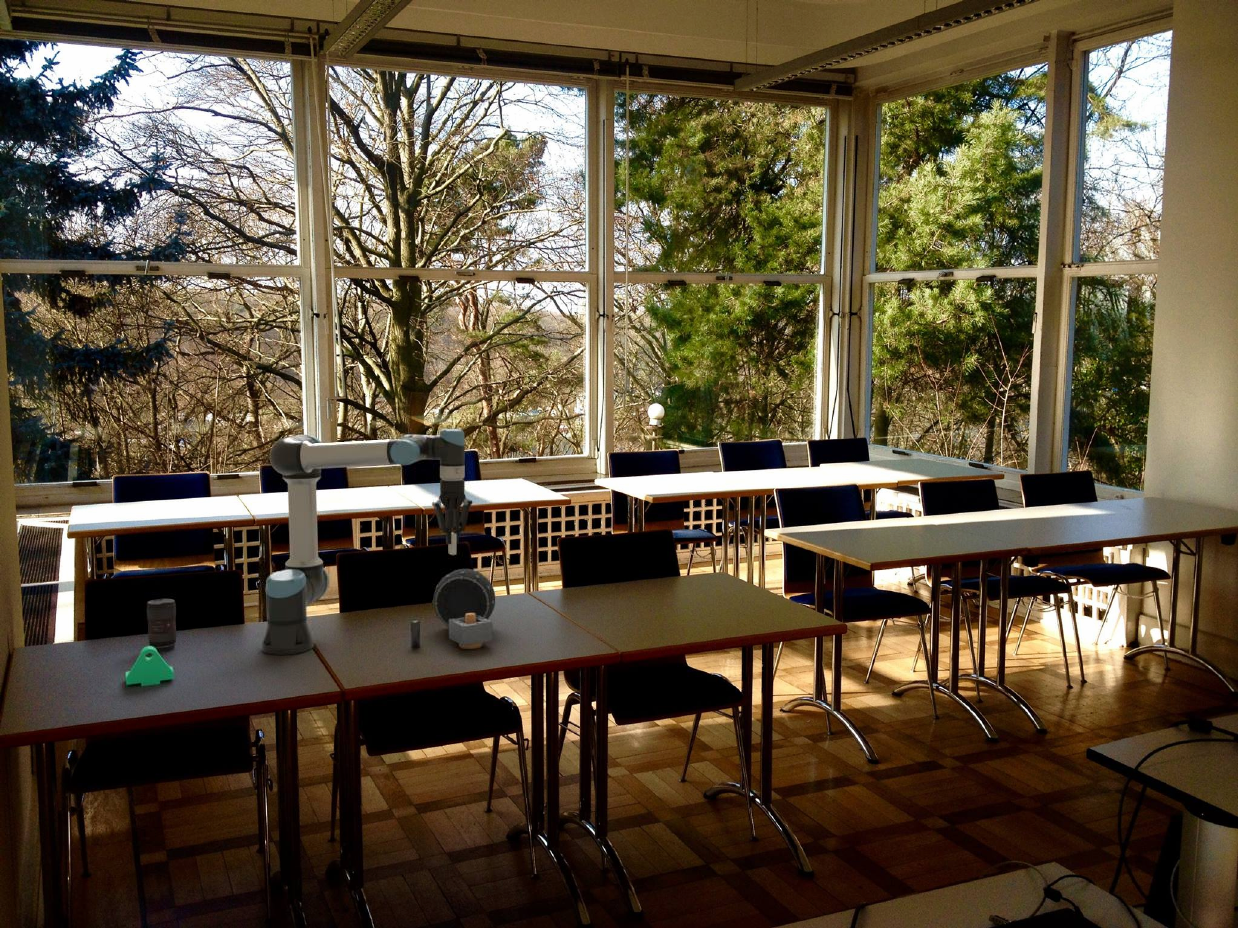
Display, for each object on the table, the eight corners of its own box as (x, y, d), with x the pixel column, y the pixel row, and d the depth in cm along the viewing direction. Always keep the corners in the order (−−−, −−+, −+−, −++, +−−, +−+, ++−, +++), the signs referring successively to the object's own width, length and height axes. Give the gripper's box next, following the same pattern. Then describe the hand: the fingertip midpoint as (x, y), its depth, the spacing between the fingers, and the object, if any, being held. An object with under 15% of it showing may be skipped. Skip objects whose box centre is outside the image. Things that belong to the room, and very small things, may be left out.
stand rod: (410, 647, 328) (410, 622, 327) (411, 645, 331) (411, 620, 330) (419, 647, 329) (419, 622, 328) (420, 645, 331) (420, 620, 330)
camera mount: (172, 674, 302) (170, 639, 301) (174, 682, 295) (172, 646, 294) (126, 680, 297) (124, 644, 296) (126, 688, 290) (124, 651, 289)
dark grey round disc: (492, 634, 344) (492, 573, 342) (431, 633, 345) (430, 573, 342) (497, 625, 355) (496, 566, 353) (437, 624, 355) (436, 566, 353)
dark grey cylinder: (182, 648, 327) (180, 600, 325) (156, 654, 321) (154, 605, 319) (169, 643, 332) (167, 596, 331) (143, 649, 326) (141, 601, 324)
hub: (458, 649, 327) (457, 617, 326) (459, 642, 335) (459, 611, 333) (481, 648, 328) (481, 616, 327) (482, 642, 335) (482, 611, 334)
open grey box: (463, 645, 324) (463, 626, 323) (449, 638, 332) (448, 619, 332) (492, 640, 330) (492, 621, 329) (477, 633, 338) (477, 614, 337)
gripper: (438, 481, 322) (438, 558, 325) (476, 479, 330) (476, 553, 332) (427, 478, 328) (428, 553, 331) (466, 476, 336) (466, 549, 338)
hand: (452, 553), depth 332 cm, fingers closed
